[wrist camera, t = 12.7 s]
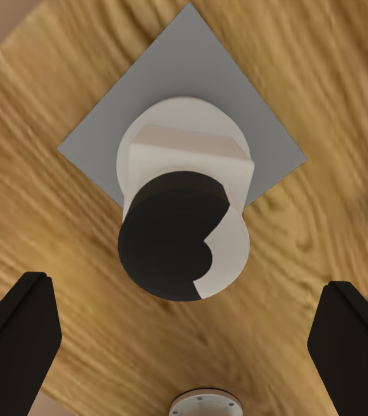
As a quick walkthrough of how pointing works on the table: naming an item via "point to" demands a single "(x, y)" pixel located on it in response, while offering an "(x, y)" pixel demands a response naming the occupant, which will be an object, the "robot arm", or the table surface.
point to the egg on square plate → (182, 109)
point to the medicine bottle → (184, 213)
